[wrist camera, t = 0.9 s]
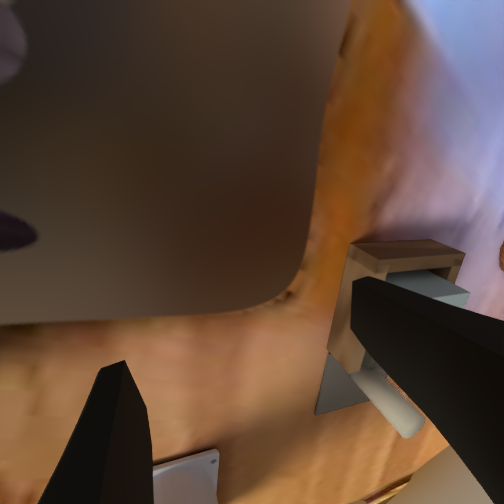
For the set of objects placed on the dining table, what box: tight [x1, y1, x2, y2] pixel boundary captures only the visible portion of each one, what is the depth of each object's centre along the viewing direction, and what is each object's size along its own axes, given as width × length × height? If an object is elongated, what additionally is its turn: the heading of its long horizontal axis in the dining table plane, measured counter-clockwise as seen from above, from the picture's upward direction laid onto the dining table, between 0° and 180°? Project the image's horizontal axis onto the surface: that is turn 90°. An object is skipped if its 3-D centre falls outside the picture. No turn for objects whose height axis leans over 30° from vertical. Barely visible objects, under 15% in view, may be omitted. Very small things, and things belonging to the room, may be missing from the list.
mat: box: [315, 353, 387, 415], centre depth 29 cm, size 7×8×1 cm
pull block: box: [351, 269, 470, 438], centre depth 24 cm, size 12×5×6 cm, turn 174°
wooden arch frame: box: [327, 239, 466, 374], centre depth 25 cm, size 9×8×3 cm
